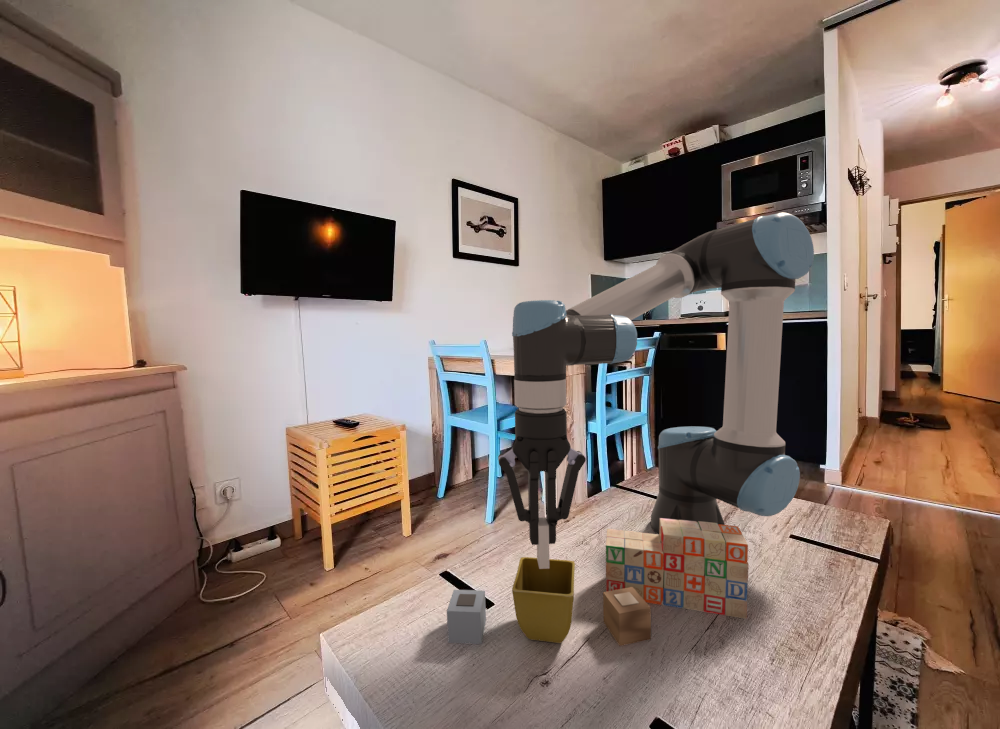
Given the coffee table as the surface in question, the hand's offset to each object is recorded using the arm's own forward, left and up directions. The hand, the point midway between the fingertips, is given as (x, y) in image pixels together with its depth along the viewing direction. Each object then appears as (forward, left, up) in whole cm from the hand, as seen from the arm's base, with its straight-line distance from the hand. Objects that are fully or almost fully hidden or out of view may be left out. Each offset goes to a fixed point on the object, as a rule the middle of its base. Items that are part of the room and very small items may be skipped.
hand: (543, 563), depth 61 cm
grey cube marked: (+12, -1, -11) cm, 16 cm away
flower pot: (0, 0, -11) cm, 11 cm away
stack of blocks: (-23, -6, -11) cm, 26 cm away
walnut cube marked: (-12, +1, -11) cm, 16 cm away
